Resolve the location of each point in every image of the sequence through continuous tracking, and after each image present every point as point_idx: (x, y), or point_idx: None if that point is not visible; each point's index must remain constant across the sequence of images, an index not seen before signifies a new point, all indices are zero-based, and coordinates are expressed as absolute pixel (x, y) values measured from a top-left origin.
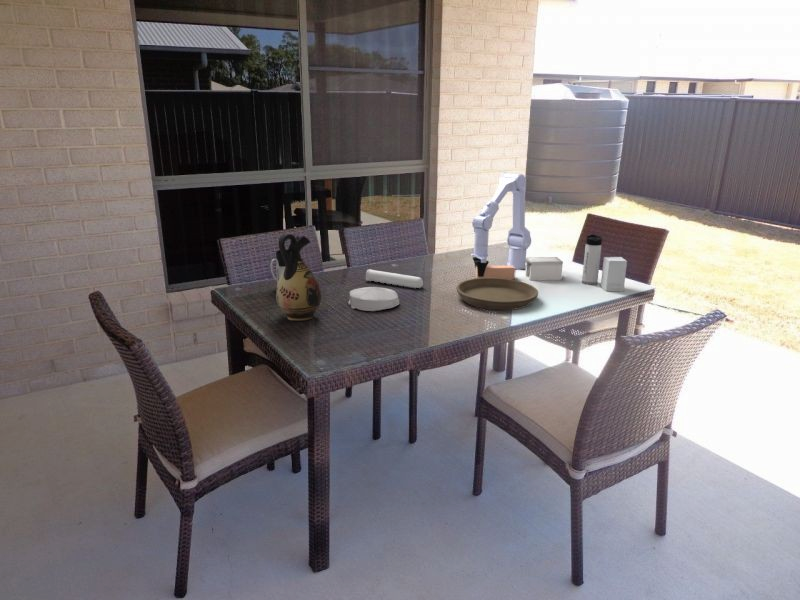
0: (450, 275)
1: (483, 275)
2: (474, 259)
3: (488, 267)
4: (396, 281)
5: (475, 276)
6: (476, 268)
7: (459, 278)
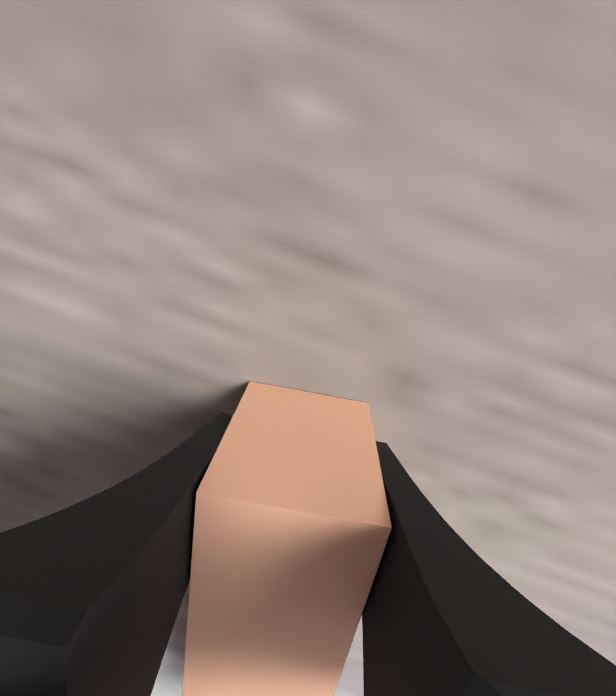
0: (608, 32)
1: None
2: (450, 677)
3: (226, 648)
4: None
5: (364, 406)
6: (318, 487)
7: (363, 149)
